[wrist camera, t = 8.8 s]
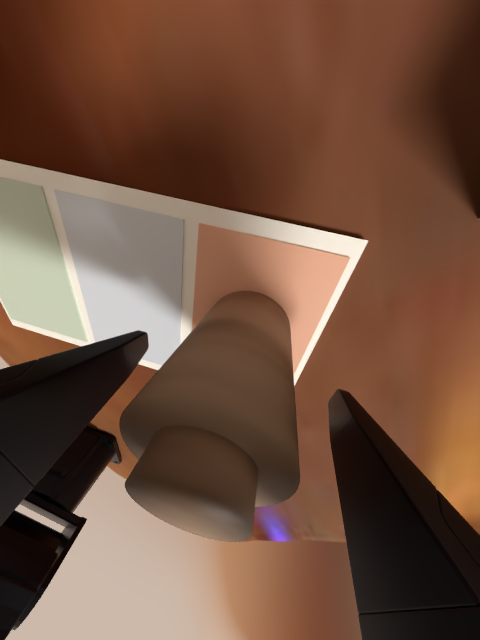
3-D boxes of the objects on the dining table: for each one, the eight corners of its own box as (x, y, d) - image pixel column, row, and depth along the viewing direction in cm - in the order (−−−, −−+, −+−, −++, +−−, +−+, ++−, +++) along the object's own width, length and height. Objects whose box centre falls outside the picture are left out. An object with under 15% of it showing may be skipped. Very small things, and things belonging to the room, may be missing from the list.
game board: (282, 405, 14) (282, 410, 14) (17, 323, 16) (11, 325, 16) (365, 240, 8) (369, 241, 8) (-76, 142, 10) (-88, 139, 10)
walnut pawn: (275, 371, 12) (265, 573, 5) (204, 350, 12) (105, 507, 6) (303, 304, 10) (356, 519, 3) (213, 280, 10) (53, 408, 3)
